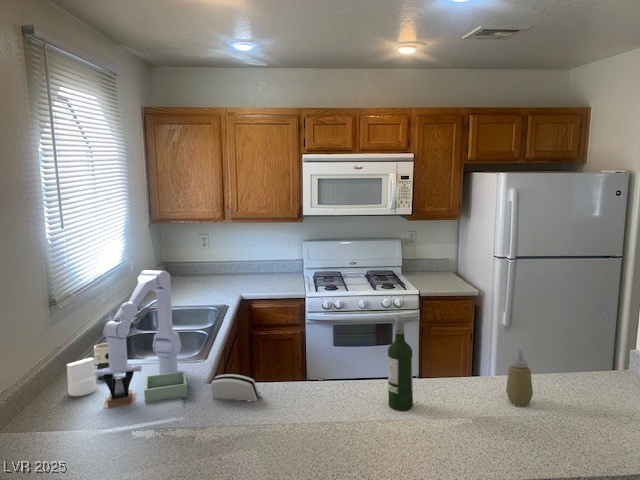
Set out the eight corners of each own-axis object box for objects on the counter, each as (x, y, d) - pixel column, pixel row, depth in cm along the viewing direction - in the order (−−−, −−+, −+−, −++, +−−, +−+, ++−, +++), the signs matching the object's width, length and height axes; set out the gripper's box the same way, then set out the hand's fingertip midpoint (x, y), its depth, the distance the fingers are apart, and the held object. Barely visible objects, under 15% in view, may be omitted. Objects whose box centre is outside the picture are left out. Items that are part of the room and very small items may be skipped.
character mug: (105, 382, 175) (103, 349, 174) (88, 381, 176) (86, 349, 175) (121, 372, 186) (119, 341, 185) (105, 371, 187) (103, 341, 186)
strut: (114, 399, 156) (113, 377, 156) (127, 397, 158) (125, 375, 157) (113, 404, 152) (112, 381, 152) (126, 402, 154) (125, 379, 153)
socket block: (106, 400, 158) (105, 392, 158) (136, 395, 161) (136, 387, 161) (102, 412, 149) (102, 403, 148) (135, 407, 152) (134, 398, 152)
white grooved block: (88, 386, 171) (86, 356, 170) (101, 392, 166) (99, 360, 165) (63, 395, 164) (61, 363, 163) (76, 400, 158) (74, 367, 157)
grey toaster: (261, 395, 159) (257, 373, 155) (257, 405, 155) (252, 382, 151) (218, 392, 163) (212, 370, 159) (212, 401, 159) (206, 379, 155)
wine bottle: (384, 403, 150) (382, 315, 148) (403, 399, 153) (403, 312, 151) (397, 413, 143) (395, 320, 141) (417, 408, 146) (416, 317, 144)
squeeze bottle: (512, 396, 154) (512, 344, 153) (536, 403, 148) (537, 349, 147) (501, 403, 148) (502, 350, 147) (527, 411, 142) (527, 355, 141)
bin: (146, 389, 167) (145, 376, 167) (185, 383, 172) (184, 370, 171) (144, 404, 154) (144, 390, 154) (187, 397, 158) (186, 384, 158)
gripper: (92, 362, 148) (95, 402, 149) (140, 356, 152) (142, 395, 153) (95, 355, 154) (97, 394, 155) (141, 350, 159) (142, 387, 160)
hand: (120, 394), depth 155 cm, fingers closed on strut, 4 cm apart
